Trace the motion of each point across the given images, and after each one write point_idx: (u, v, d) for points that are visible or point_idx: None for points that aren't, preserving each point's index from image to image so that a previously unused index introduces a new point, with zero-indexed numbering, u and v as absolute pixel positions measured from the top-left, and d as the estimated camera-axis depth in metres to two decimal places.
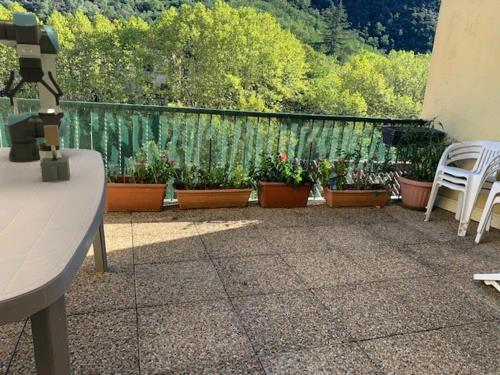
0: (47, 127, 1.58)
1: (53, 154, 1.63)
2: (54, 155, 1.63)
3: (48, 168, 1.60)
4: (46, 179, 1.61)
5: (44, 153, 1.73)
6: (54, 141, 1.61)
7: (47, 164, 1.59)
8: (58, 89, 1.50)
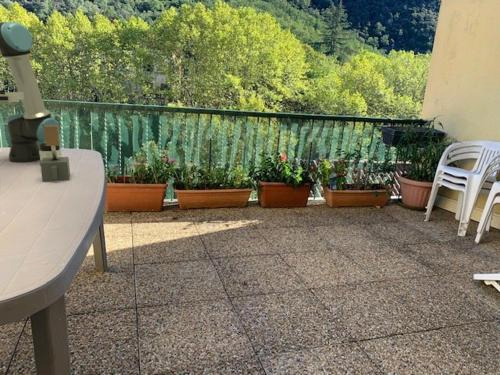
0: (47, 127, 1.58)
1: (53, 154, 1.63)
2: (54, 155, 1.63)
3: (48, 168, 1.60)
4: (46, 179, 1.61)
5: (44, 153, 1.73)
6: (54, 141, 1.61)
7: (47, 164, 1.59)
8: None
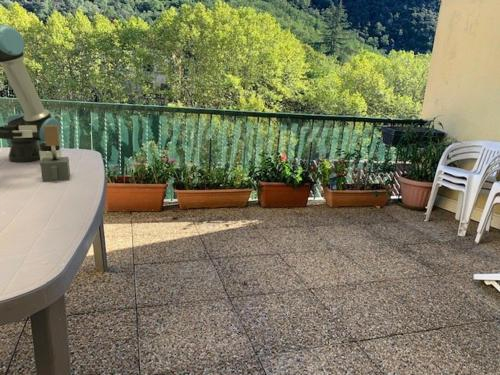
0: (47, 127, 1.58)
1: (53, 154, 1.63)
2: (54, 155, 1.63)
3: (48, 168, 1.60)
4: (46, 179, 1.61)
5: (44, 153, 1.73)
6: (54, 141, 1.61)
7: (47, 164, 1.59)
8: None
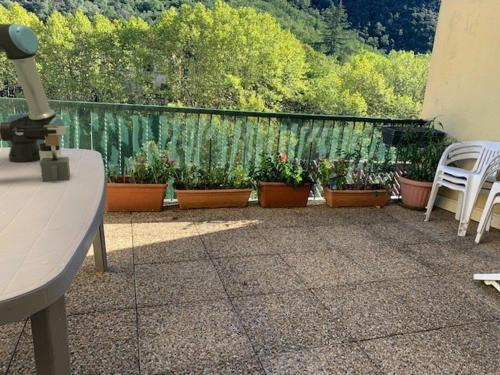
0: (47, 127, 1.58)
1: (53, 154, 1.63)
2: (54, 155, 1.63)
3: (48, 168, 1.60)
4: (46, 179, 1.61)
5: (44, 153, 1.73)
6: (54, 141, 1.61)
7: (47, 164, 1.59)
8: None
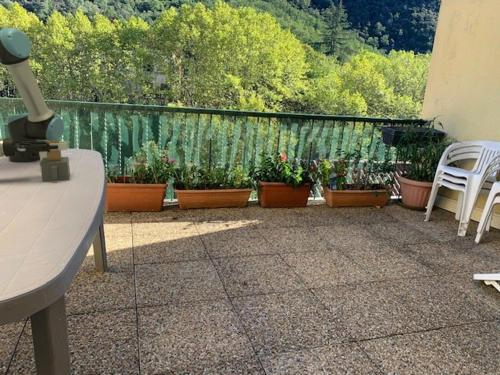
0: (49, 143, 1.60)
1: None
2: None
3: (48, 168, 1.60)
4: (46, 179, 1.61)
5: (44, 153, 1.73)
6: (56, 156, 1.62)
7: (47, 164, 1.59)
8: None
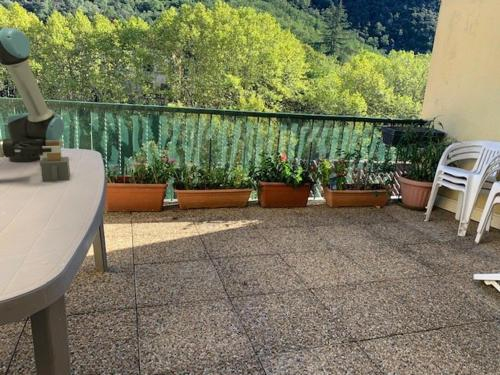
0: (49, 143, 1.60)
1: None
2: None
3: (48, 168, 1.60)
4: (46, 179, 1.61)
5: (44, 153, 1.73)
6: (56, 156, 1.62)
7: (47, 164, 1.59)
8: None
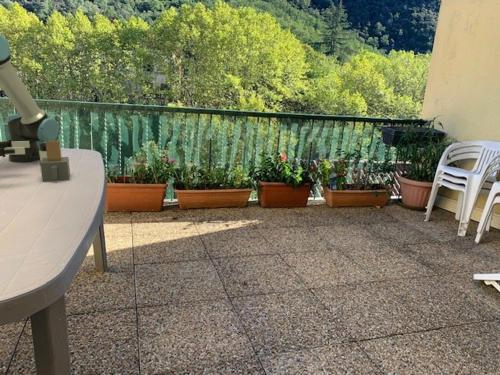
0: (49, 143, 1.60)
1: None
2: None
3: (48, 168, 1.60)
4: (46, 179, 1.61)
5: (44, 153, 1.73)
6: (56, 156, 1.62)
7: (47, 164, 1.59)
8: None
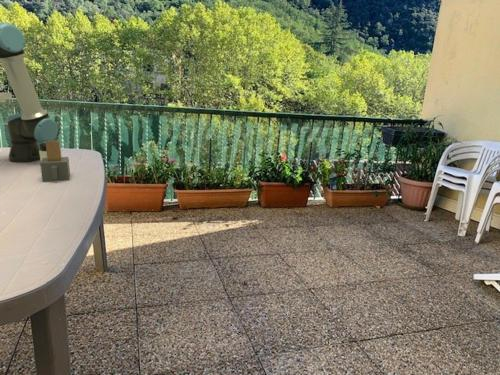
0: (49, 143, 1.60)
1: None
2: None
3: (48, 168, 1.60)
4: (46, 179, 1.61)
5: (44, 153, 1.73)
6: (56, 156, 1.62)
7: (47, 164, 1.59)
8: None
